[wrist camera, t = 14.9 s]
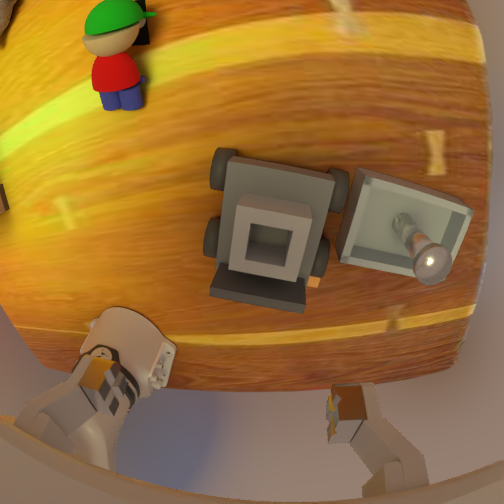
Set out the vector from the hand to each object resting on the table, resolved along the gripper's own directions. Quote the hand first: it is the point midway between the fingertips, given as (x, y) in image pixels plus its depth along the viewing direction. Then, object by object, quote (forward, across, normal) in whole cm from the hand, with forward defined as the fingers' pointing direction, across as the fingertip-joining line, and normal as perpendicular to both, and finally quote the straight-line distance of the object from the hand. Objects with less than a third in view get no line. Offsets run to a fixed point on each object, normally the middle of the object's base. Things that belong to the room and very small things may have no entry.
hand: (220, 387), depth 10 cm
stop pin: (+28, -18, +4) cm, 34 cm away
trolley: (+30, -1, +4) cm, 30 cm away
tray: (+29, -18, +4) cm, 35 cm away
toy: (+30, +17, -17) cm, 39 cm away
